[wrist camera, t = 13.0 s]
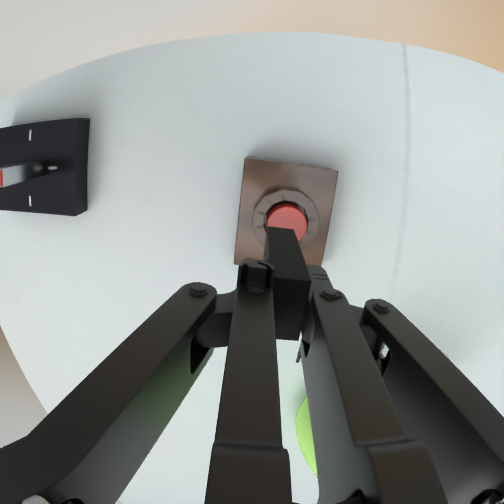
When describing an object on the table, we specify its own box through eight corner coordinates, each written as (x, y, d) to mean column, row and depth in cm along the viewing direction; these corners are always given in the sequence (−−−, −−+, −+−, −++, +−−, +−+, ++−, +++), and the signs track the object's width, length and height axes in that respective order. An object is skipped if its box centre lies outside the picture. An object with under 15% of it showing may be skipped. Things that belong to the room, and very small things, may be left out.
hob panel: (9, 128, 31) (-4, 128, 28) (90, 118, 31) (76, 117, 28) (10, 204, 35) (-3, 210, 32) (87, 210, 35) (74, 216, 32)
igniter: (245, 156, 33) (243, 158, 29) (333, 169, 33) (342, 172, 29) (235, 257, 37) (232, 270, 33) (316, 267, 37) (322, 281, 33)
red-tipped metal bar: (15, 175, 31) (-26, 187, 23) (15, 161, 30) (-27, 170, 22) (45, 175, 31) (1, 187, 23) (45, 160, 30) (1, 169, 22)
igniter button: (269, 200, 31) (269, 204, 29) (307, 205, 31) (310, 209, 29) (264, 238, 32) (264, 243, 31) (301, 242, 32) (303, 248, 31)
